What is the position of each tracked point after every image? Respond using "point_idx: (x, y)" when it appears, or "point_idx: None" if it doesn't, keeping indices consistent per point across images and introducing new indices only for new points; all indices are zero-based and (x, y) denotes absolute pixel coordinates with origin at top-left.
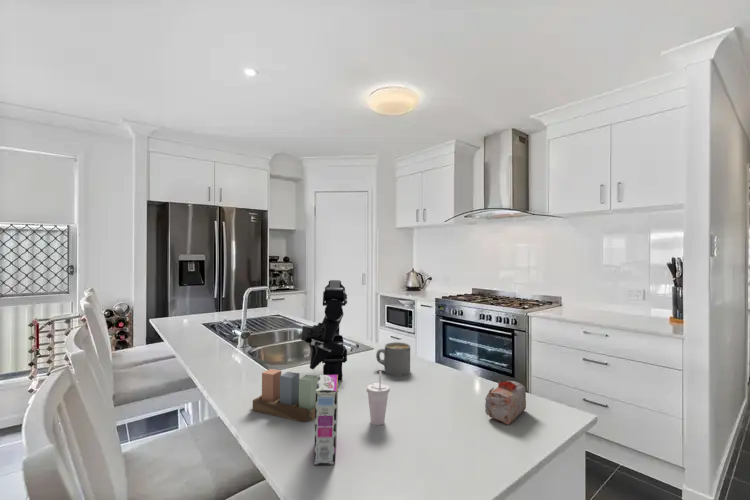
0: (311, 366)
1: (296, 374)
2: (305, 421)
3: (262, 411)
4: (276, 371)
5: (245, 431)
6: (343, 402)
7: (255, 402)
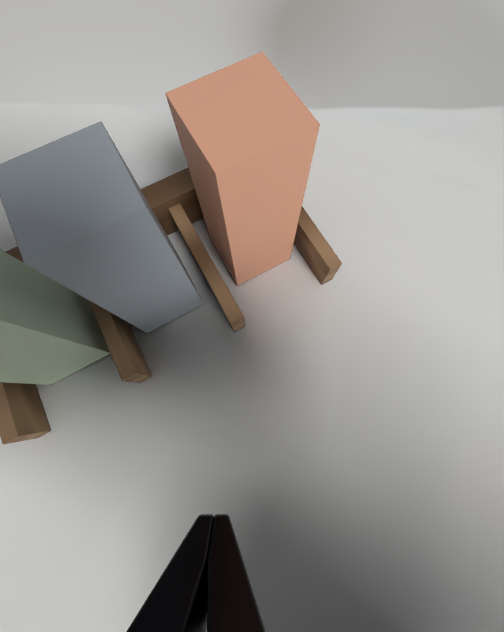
0: (190, 529)
1: (23, 232)
2: None
3: None
4: (220, 137)
5: (115, 119)
6: (23, 564)
7: None
